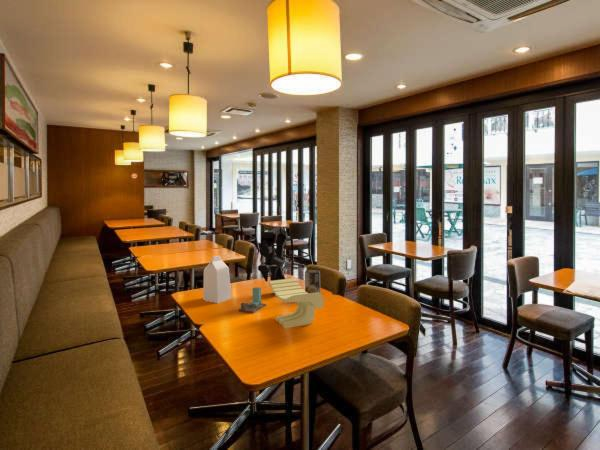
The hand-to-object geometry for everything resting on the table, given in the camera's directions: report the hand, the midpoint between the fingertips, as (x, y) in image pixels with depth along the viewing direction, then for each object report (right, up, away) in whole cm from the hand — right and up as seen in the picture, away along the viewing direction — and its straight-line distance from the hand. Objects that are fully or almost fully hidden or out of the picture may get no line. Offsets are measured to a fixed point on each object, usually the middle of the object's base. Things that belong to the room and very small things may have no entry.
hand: (270, 279), depth 214 cm
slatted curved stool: (+15, -16, -32) cm, 39 cm away
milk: (-32, -13, +7) cm, 35 cm away
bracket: (-9, -14, -11) cm, 20 cm away
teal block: (-8, -13, -10) cm, 18 cm away
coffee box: (+25, -12, +9) cm, 29 cm away
